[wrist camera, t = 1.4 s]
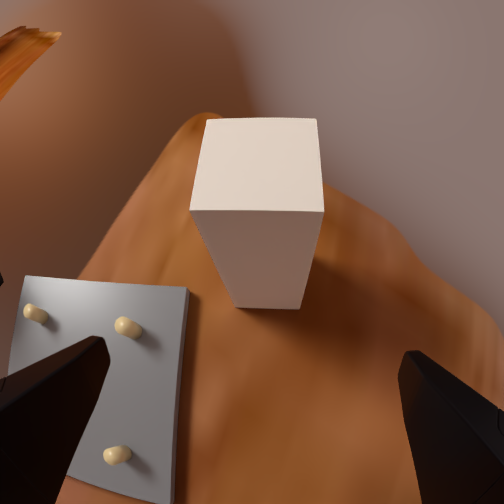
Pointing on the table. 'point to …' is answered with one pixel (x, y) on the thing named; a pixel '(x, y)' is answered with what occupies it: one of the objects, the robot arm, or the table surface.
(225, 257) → the cream block
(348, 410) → the table surface
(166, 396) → the mount plate
